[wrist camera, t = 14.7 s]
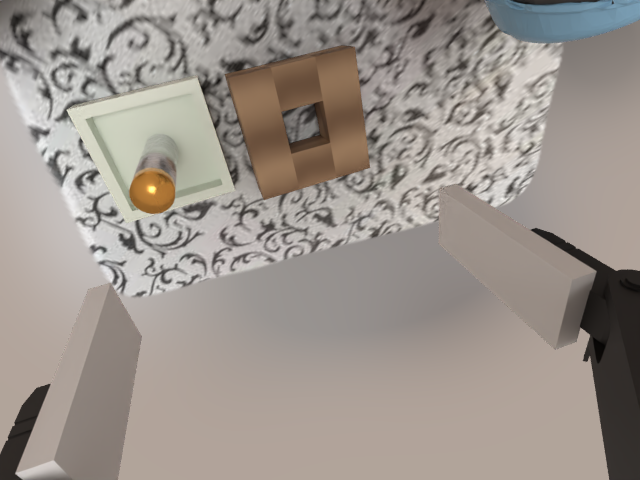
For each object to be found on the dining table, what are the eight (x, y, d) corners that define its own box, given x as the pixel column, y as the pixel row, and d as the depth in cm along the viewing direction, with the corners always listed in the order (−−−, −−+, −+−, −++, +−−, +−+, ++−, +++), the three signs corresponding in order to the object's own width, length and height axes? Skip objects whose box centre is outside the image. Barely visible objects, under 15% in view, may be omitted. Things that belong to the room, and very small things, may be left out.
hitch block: (224, 74, 36) (228, 78, 33) (341, 45, 38) (354, 46, 35) (258, 188, 42) (264, 199, 40) (357, 158, 44) (369, 167, 41)
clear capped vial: (139, 138, 36) (121, 181, 26) (171, 130, 37) (165, 169, 26) (152, 168, 38) (140, 219, 28) (182, 159, 38) (181, 206, 28)
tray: (74, 104, 34) (66, 110, 32) (196, 75, 36) (197, 77, 33) (129, 212, 40) (126, 223, 37) (232, 182, 41) (235, 190, 39)
